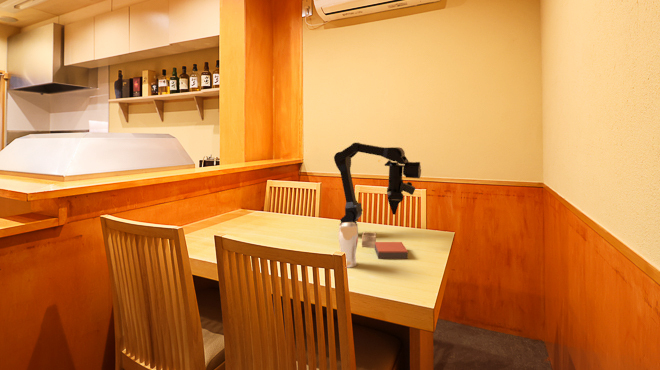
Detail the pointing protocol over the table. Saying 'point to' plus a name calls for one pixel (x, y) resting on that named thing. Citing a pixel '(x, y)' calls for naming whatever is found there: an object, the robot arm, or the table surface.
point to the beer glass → (349, 241)
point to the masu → (368, 239)
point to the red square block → (391, 250)
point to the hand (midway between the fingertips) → (393, 212)
